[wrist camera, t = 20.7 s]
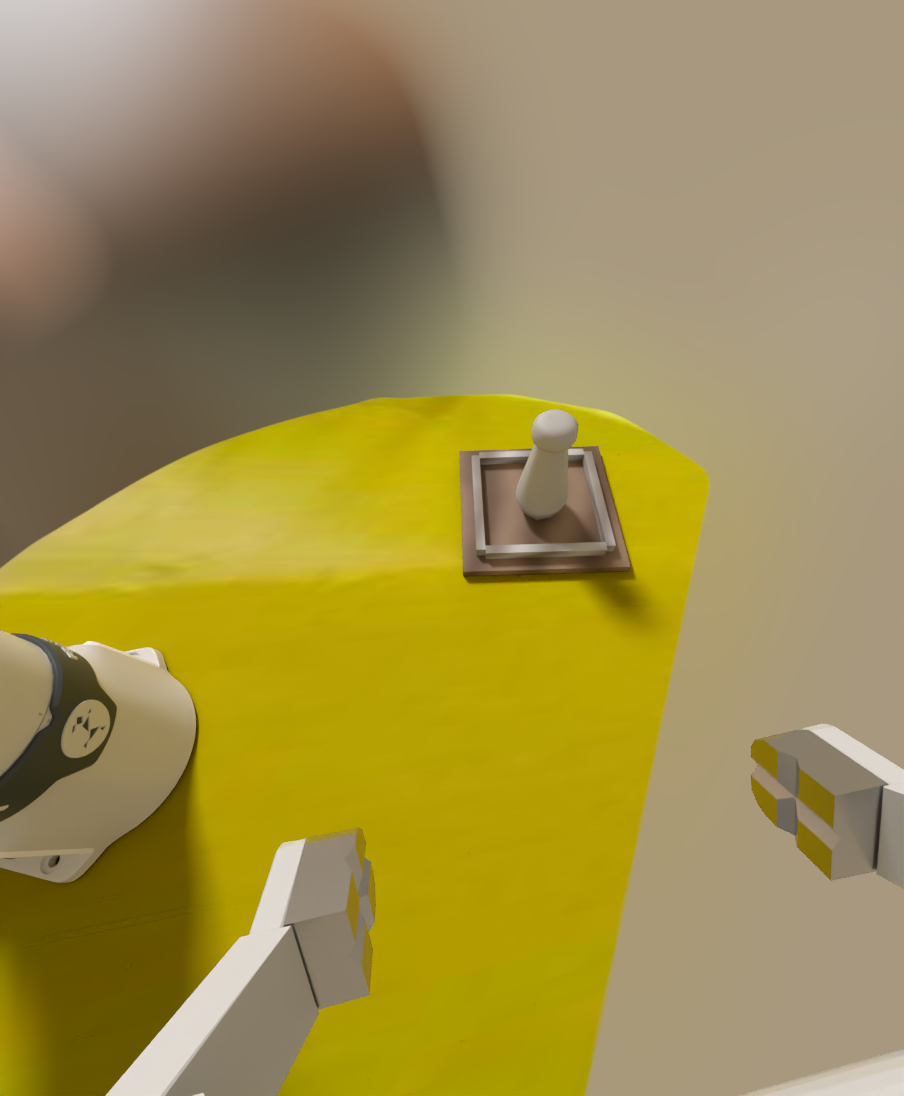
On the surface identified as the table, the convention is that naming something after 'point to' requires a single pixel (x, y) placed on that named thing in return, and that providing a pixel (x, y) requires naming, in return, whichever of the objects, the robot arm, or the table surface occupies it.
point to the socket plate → (537, 545)
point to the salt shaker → (547, 465)
